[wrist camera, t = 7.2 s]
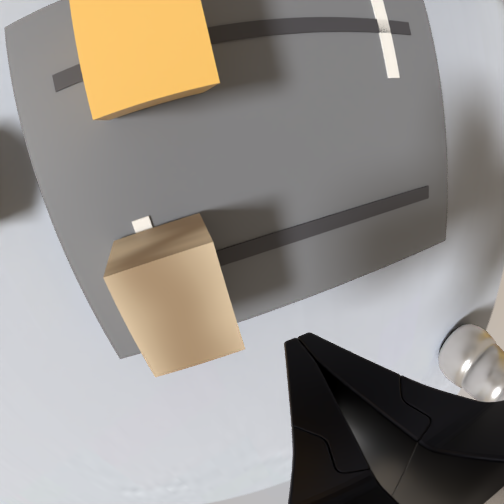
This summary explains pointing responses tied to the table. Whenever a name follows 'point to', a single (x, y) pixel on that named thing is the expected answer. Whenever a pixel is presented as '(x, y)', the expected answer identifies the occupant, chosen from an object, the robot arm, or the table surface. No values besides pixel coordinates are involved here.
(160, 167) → the fader panel
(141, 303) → the oak fader
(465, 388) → the plastic bottle
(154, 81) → the block
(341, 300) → the table surface
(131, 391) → the table surface
